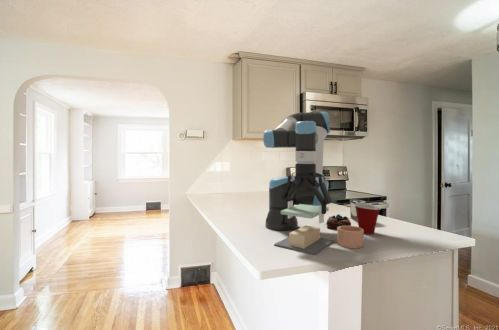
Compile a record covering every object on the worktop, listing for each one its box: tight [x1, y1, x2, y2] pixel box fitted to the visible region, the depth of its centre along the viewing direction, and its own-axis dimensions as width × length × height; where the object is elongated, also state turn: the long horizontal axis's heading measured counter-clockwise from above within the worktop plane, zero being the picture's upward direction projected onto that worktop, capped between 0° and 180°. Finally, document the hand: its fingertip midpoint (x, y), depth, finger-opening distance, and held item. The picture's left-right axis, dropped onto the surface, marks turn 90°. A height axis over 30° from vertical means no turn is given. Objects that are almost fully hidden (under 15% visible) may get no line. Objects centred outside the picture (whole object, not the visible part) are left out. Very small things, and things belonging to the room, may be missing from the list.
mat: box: [273, 225, 335, 256], centre depth 104 cm, size 16×18×5 cm
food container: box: [349, 199, 367, 224], centre depth 142 cm, size 12×6×10 cm, turn 179°
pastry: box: [325, 214, 352, 231], centre depth 129 cm, size 11×12×6 cm
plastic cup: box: [354, 203, 382, 235], centre depth 119 cm, size 11×11×12 cm
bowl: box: [336, 225, 365, 249], centre depth 103 cm, size 9×9×6 cm
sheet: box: [281, 204, 330, 220], centre depth 104 cm, size 12×16×1 cm
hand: (305, 220), depth 104 cm, fingers closed on sheet, 12 cm apart
